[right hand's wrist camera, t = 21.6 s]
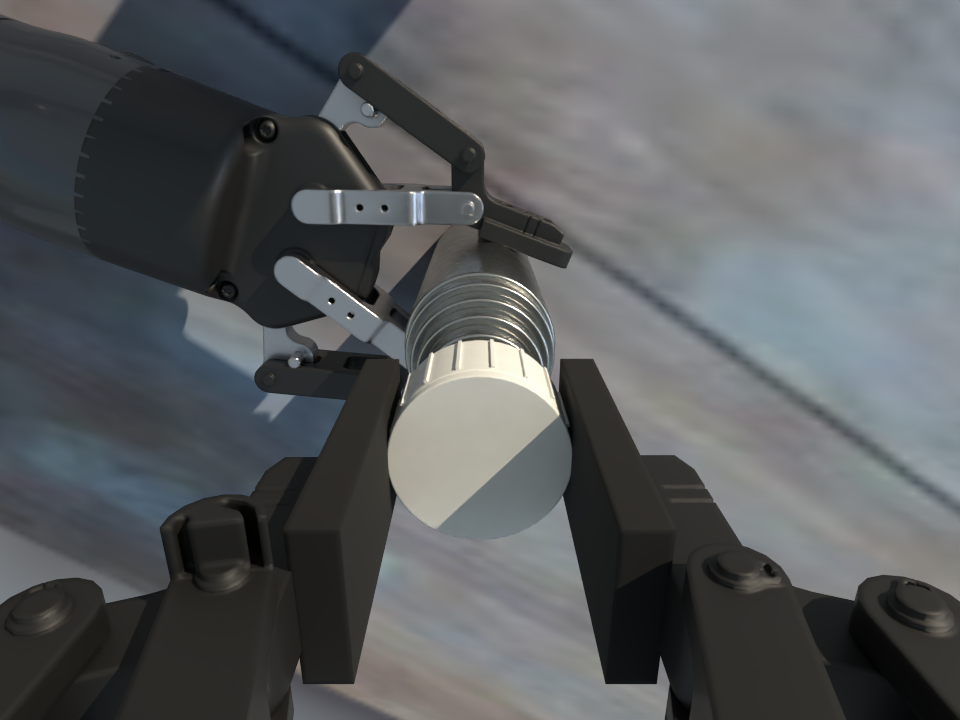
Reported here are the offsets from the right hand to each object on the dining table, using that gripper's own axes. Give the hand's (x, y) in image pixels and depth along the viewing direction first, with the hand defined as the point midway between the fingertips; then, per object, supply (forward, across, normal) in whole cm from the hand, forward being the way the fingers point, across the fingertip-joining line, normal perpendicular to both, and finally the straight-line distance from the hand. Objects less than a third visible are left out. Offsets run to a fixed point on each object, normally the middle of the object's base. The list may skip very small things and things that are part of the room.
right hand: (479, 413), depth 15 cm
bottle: (+18, 0, 0) cm, 18 cm away
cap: (-2, 0, 0) cm, 2 cm away
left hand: (+11, -2, +1) cm, 12 cm away
